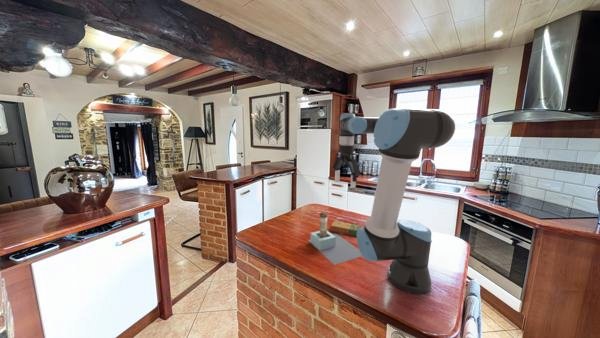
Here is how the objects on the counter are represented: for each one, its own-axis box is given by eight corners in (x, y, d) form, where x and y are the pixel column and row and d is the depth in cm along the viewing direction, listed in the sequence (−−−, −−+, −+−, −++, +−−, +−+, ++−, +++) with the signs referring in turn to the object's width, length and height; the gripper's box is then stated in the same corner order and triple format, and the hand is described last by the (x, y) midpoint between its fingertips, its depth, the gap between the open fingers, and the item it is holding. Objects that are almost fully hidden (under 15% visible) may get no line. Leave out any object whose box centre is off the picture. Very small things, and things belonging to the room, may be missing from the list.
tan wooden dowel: (327, 244, 111) (328, 214, 108) (321, 246, 109) (322, 215, 106) (324, 241, 114) (324, 212, 111) (317, 243, 112) (318, 213, 110)
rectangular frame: (335, 246, 109) (335, 236, 109) (319, 250, 105) (320, 240, 105) (325, 238, 117) (325, 229, 117) (310, 241, 113) (310, 232, 113)
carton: (334, 227, 134) (334, 220, 133) (361, 232, 127) (361, 225, 127) (330, 232, 126) (330, 225, 125) (359, 238, 120) (359, 230, 119)
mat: (366, 256, 102) (366, 254, 102) (334, 266, 94) (334, 265, 94) (335, 234, 123) (335, 233, 123) (307, 241, 116) (307, 240, 115)
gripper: (369, 146, 105) (366, 189, 109) (338, 143, 127) (336, 179, 131) (357, 146, 102) (354, 191, 105) (327, 143, 124) (325, 180, 127)
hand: (344, 184), depth 118 cm, fingers open, 13 cm apart
